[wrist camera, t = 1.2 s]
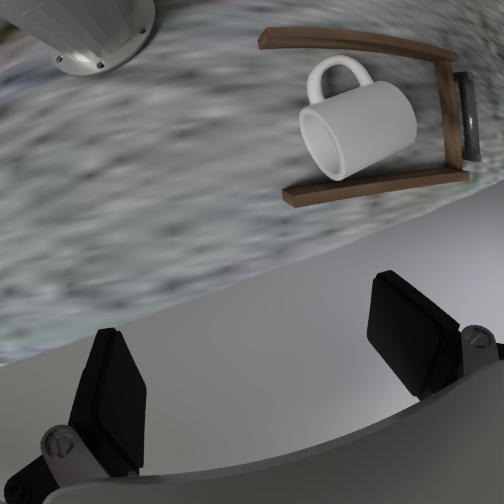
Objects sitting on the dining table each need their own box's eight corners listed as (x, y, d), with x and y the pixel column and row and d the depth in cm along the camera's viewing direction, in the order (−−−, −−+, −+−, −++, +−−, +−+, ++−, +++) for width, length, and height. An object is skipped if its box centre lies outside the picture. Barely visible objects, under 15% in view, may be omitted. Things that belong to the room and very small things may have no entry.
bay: (257, 40, 25) (267, 26, 21) (450, 59, 29) (470, 57, 25) (283, 200, 32) (296, 208, 28) (462, 174, 36) (482, 179, 32)
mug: (383, 144, 32) (426, 149, 25) (318, 176, 32) (353, 187, 25) (346, 55, 27) (384, 38, 20) (273, 80, 27) (298, 61, 20)
